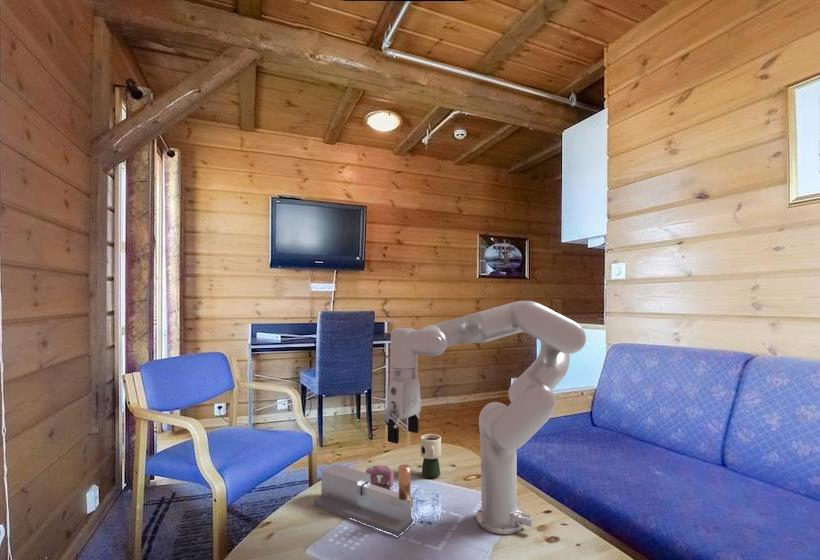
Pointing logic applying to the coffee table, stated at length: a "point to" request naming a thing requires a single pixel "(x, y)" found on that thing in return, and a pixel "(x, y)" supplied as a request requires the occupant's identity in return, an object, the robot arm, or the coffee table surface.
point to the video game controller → (381, 470)
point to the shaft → (392, 497)
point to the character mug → (430, 454)
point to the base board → (371, 514)
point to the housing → (344, 485)
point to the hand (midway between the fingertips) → (403, 437)
